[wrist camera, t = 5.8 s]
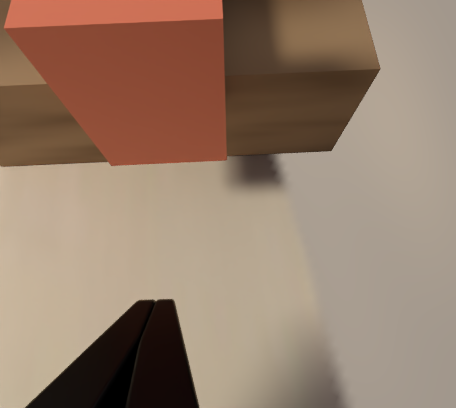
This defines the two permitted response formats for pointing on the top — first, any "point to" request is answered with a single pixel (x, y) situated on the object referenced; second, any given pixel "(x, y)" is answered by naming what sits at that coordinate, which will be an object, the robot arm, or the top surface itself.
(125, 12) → the red plunger
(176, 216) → the top surface
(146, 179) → the top surface
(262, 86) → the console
